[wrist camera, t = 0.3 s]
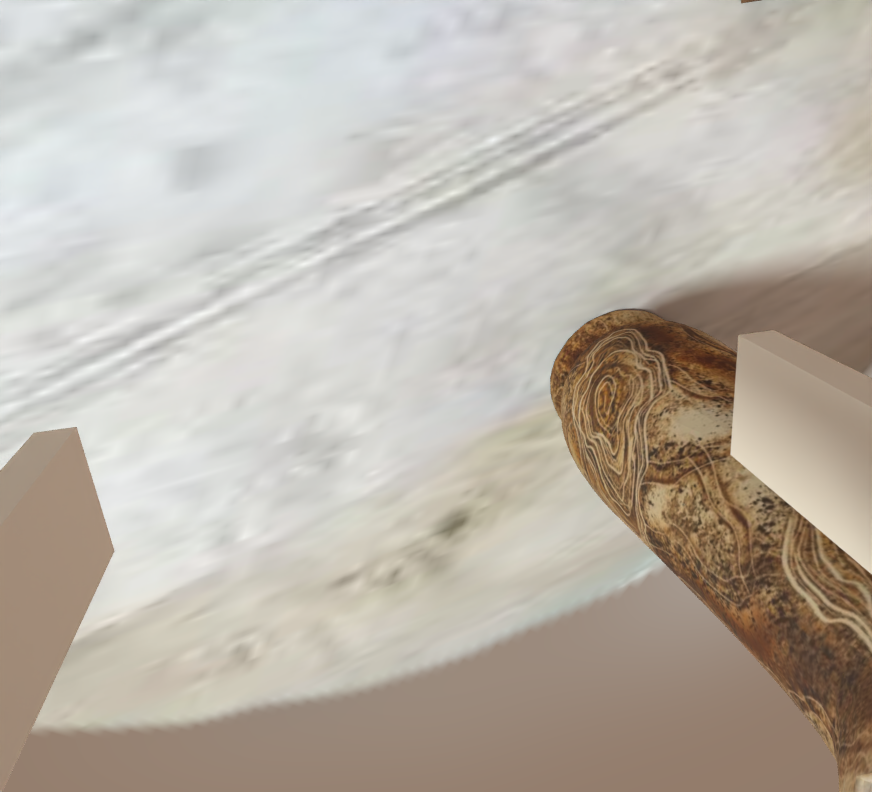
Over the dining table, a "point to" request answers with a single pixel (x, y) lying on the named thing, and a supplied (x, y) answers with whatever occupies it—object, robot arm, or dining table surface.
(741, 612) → the vase
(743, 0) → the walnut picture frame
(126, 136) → the dining table surface
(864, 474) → the robot arm
